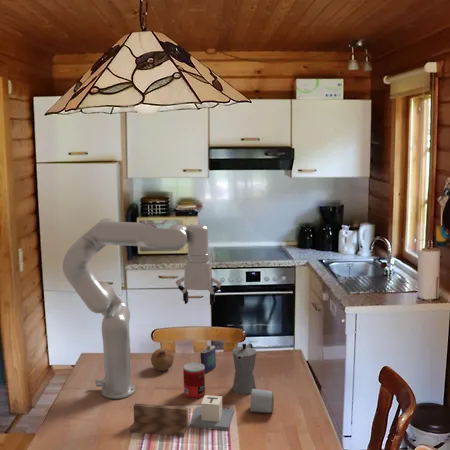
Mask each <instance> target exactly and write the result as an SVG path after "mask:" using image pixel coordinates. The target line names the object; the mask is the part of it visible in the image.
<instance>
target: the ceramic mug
mask: <svg viewBox="0 0 450 450" xmlns="http://www.w3.org/2000/svg"><path fill="white" fill-rule="evenodd" d="M274 402H275V392H274V391H272V390H263V389H257V388H256V389H252V391H251V394H250V405H249V408H250V410H249V411H250V412H251V413H269V414H270V413H273V412H274V405H275V403H274Z"/></svg>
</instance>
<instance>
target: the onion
mask: <svg viewBox="0 0 450 450" xmlns="http://www.w3.org/2000/svg"><path fill="white" fill-rule="evenodd" d="M174 358H175V356H174V354H173V352H172V350H170V349H168V348H167V347H161V348H160V347H159V348H158V349H156V350H154V352H153V353H152V354H151V357H150V363H151V365H152V367H153V369H154V370H157V371H160V372H165V371H168V370H169V369H170V368H171V367H172V366H173V364H174Z"/></svg>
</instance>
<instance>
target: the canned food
mask: <svg viewBox="0 0 450 450" xmlns="http://www.w3.org/2000/svg"><path fill="white" fill-rule="evenodd" d="M182 369H183V394H184V396H185V397H186V398H188V399H192V400H194V399H201V398H202V397H203V398H204V396H205V394H206V374H205V366H204V365H203V364H201V362H188V363H186V364H184V365H183V368H182Z"/></svg>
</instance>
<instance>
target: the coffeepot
mask: <svg viewBox="0 0 450 450" xmlns="http://www.w3.org/2000/svg"><path fill="white" fill-rule="evenodd" d="M241 345H242V346H240V347H239V346H238V347H236V348H233V349H232V357H233V363H234V370H235V371H234V378H233V384H232V391H233V392H234V393H236V394H239V395H249V394H250V395H251V391H252V389H257V387H256V382H255V381H256V380H255V375H254V369H255V366H256V356H257V350H256V349H255V348H254V346H253V344H252V343H251V342H250V343H248V344H246V343H242V344H241Z"/></svg>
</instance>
